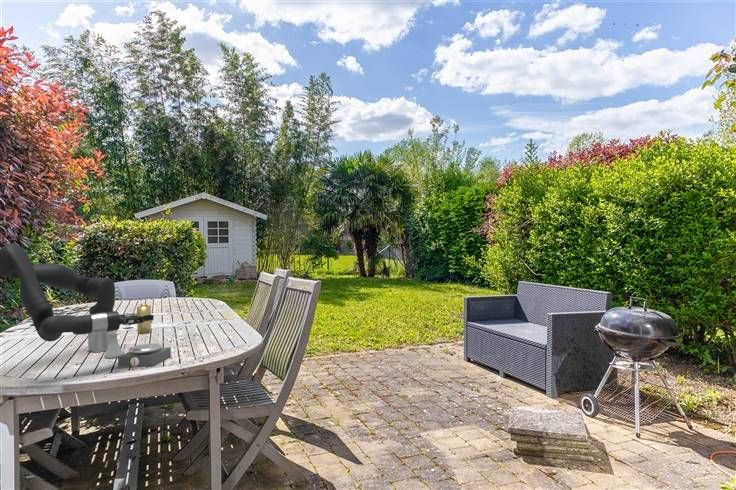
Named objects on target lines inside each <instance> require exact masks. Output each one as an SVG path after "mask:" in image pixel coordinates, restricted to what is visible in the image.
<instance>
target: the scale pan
mask: <svg viewBox="0 0 736 490" xmlns="http://www.w3.org/2000/svg"><path fill="white" fill-rule="evenodd" d="M161 347H162V344H160V343H144V344H138V345H134V346H131V347H129V348H128V352H129V353H136V354H137V353H148V352H153V351H157V350H159V349H161Z"/></svg>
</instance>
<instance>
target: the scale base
mask: <svg viewBox="0 0 736 490" xmlns="http://www.w3.org/2000/svg"><path fill="white" fill-rule="evenodd" d="M171 351H172V349H171V347H162V346H161V349H159V350H157V351H153V352H148V353H137V354H136V353H129V351H128V352H125V353H123V355H120V356H118V357H117V366H118V367H121V368H122V367H125V368H126V367H128V368H129V367H132V368H134V367H136V368H137V367H141V368H142V367H147V368H148V367H150V368H151V367H154V366H156V365H158V364H160V363H162V362H164V361H166V360H168V359H169V358H171V357H172V352H171Z"/></svg>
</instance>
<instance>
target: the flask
mask: <svg viewBox="0 0 736 490" xmlns="http://www.w3.org/2000/svg"><path fill="white" fill-rule="evenodd" d="M109 335H110V341H109V345H108V347H107V350H106V351H105V352H104V353H105V354H104V359H115V358H118V356H120V355H123V354H124V353H123V351H122V348H121V346H120V343H119V341H118V335H119V333H118V332H114V333H110V334H109Z"/></svg>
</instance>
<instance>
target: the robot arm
mask: <svg viewBox="0 0 736 490" xmlns="http://www.w3.org/2000/svg"><path fill="white" fill-rule="evenodd" d="M0 277H5V278H11V279H19V297H20V300H21V304H22V305H23V307H24V309H25V310H26V312H27V314H28V315H29V316H30V319H31V320H32V323H33V326H34V329H35V331H36V333H37V335H38V336H39V337H40V338H41V339H42V340H43V341H46V342H54V341H57V340H58V339H60V338H61V337H62V335H63V334H64V333H72V334H74V335H76V336H78V335H87V345H88V346H87V347H88V352H92V353H101V352H106V350H107V347H108V345H109V341H110V335H109V334H110V333H115V331H118V330H120V326H121V325H124V326H132V325H137V324H138V323H143V322H144V321H150V320H151V321H154V317H155V316H154V314H151V315H145V316H143V315H141V316H137V313H134V312H133V313H124V314H120V313H119V312H118V311H117V310H114V307H115V302H116V301H115V300H116V286H115V282H114V280H113V279H112V278H109V277H89V276H84V275H80V274H79V273H77V272H76V271H75V270H74V269H73V268H70V267H67V266H65V265H61V264H58V263H53V262H50V263H49V262H48V263H45V262H44V263H38V264H32V261H31V259H30V255H29V254H28V252H27V251H26V250H25V249H24V248H23V247H22V246H20V245H18V244H15V243H7V244H6V245H3V246H2V247H0ZM41 284H42V285H47V286H49V287H54V288H57V289H62V290H66V291H67V290H68V291H74V292H76V293H79V294H82V295H83V296H86V297H89V298H94V299H96V303H95V304H94V305H92V306H90V307H89V314H83V315H77V316H76V315H68V314H67V315H66V314H65V315H64V314H57V315H54V313H53V311H54V310H53V306H52V304H51V303H50V301H49V298H48V297H47V296H46V294H45V293H44V291H43V289H42V287H41ZM138 318H140V321H138Z"/></svg>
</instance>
